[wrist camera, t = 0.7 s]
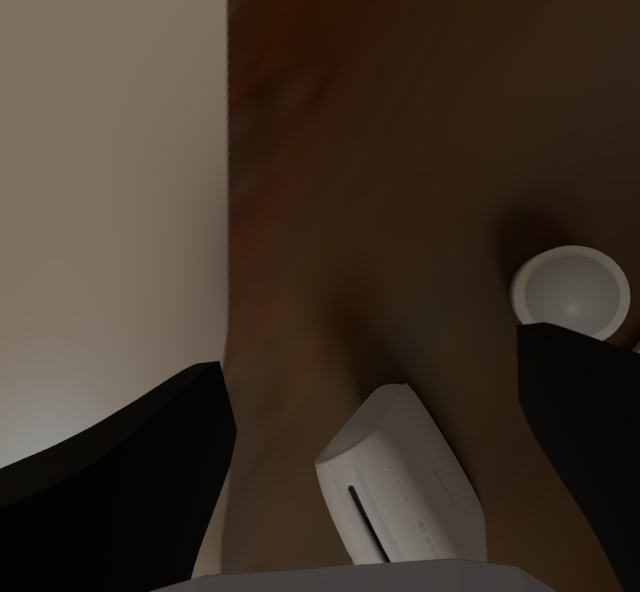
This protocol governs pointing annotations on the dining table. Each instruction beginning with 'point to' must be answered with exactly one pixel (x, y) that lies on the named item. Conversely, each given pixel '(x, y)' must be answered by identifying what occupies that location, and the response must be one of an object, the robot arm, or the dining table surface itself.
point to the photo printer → (399, 485)
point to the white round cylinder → (571, 291)
